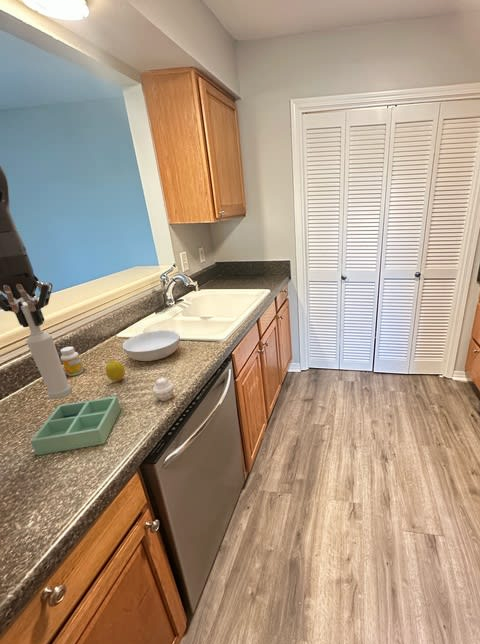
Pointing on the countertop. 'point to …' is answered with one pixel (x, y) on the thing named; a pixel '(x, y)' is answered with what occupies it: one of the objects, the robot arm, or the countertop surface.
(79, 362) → the supplement bottle
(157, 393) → the muffin
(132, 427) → the countertop surface
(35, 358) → the bottle
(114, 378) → the lemon
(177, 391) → the countertop surface
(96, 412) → the compartment tray
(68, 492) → the countertop surface
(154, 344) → the serving bowl
